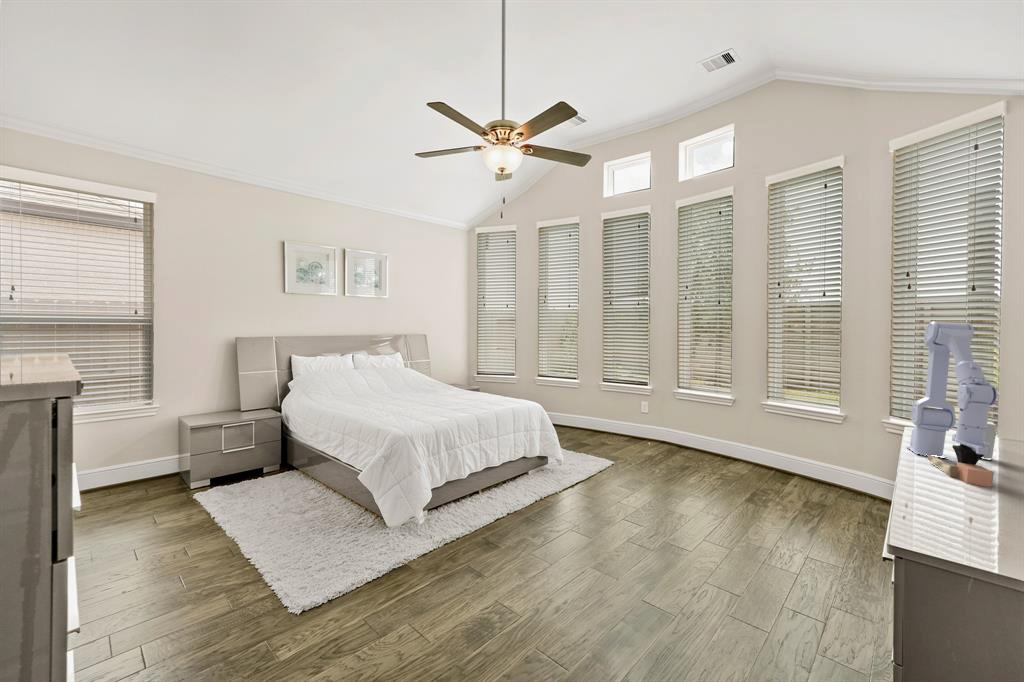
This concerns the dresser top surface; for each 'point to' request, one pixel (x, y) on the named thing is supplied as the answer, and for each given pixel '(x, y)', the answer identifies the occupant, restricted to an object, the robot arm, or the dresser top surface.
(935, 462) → the chute
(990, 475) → the block
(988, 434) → the skincare box
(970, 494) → the dresser top surface
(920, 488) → the dresser top surface
